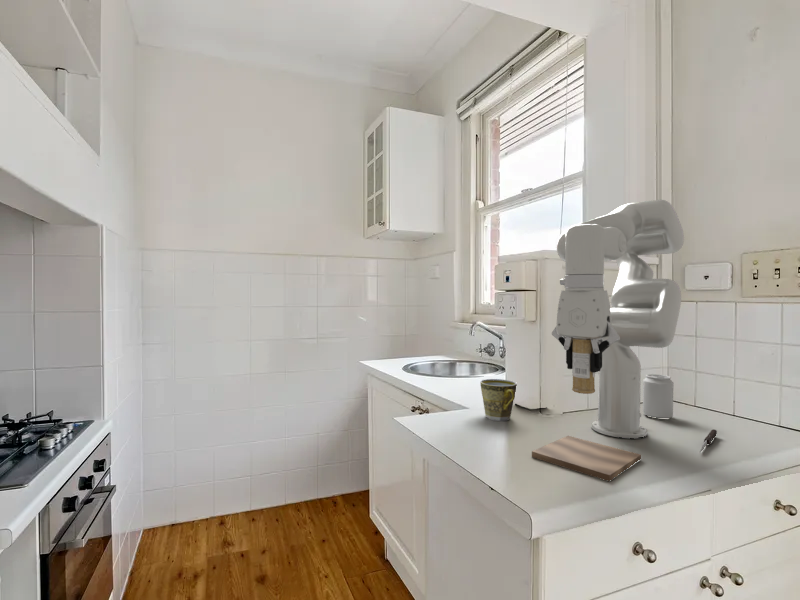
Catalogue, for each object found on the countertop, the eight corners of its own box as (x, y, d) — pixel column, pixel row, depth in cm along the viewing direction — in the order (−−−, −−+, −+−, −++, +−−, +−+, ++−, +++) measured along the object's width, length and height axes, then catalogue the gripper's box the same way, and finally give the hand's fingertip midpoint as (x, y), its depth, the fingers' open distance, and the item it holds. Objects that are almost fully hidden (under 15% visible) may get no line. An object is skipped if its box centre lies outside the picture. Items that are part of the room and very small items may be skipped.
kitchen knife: (712, 437, 106) (712, 428, 106) (716, 437, 105) (716, 429, 105) (697, 455, 93) (697, 446, 93) (702, 457, 92) (702, 447, 92)
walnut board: (567, 440, 101) (567, 435, 101) (641, 460, 89) (641, 454, 89) (531, 456, 91) (531, 451, 91) (609, 481, 79) (609, 475, 79)
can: (679, 420, 119) (679, 378, 119) (652, 420, 119) (652, 377, 119) (662, 413, 127) (663, 373, 127) (637, 413, 127) (638, 372, 127)
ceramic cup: (473, 414, 124) (474, 379, 124) (504, 411, 127) (504, 378, 127) (497, 427, 111) (497, 389, 111) (529, 424, 114) (530, 387, 114)
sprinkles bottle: (599, 392, 90) (599, 328, 90) (586, 395, 87) (586, 330, 87) (580, 388, 94) (580, 327, 93) (567, 391, 91) (567, 328, 91)
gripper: (538, 284, 94) (538, 366, 94) (618, 283, 81) (617, 378, 82) (556, 284, 99) (555, 363, 99) (633, 283, 86) (633, 373, 86)
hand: (583, 369), depth 90 cm, fingers closed on sprinkles bottle, 4 cm apart
